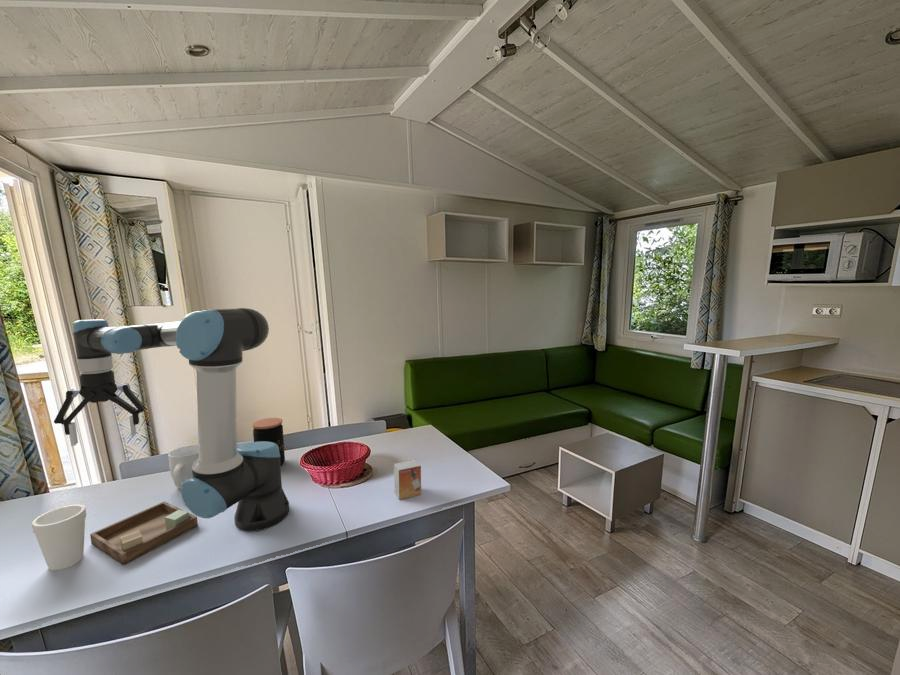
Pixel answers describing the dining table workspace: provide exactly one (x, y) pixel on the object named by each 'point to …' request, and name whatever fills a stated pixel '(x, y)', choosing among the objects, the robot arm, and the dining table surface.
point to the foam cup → (61, 535)
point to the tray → (150, 528)
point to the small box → (407, 479)
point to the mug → (182, 463)
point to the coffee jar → (270, 433)
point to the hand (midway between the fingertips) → (105, 439)
